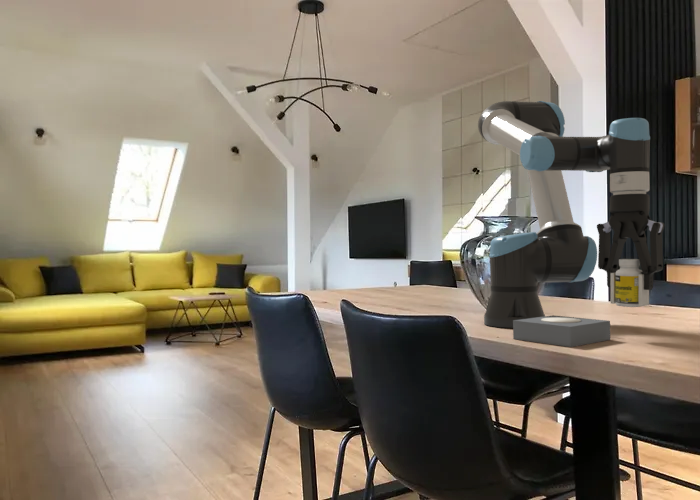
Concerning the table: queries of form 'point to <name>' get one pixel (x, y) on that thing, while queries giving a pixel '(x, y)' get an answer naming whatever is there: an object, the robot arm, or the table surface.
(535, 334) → the riser
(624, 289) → the supplement bottle
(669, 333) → the table surface
